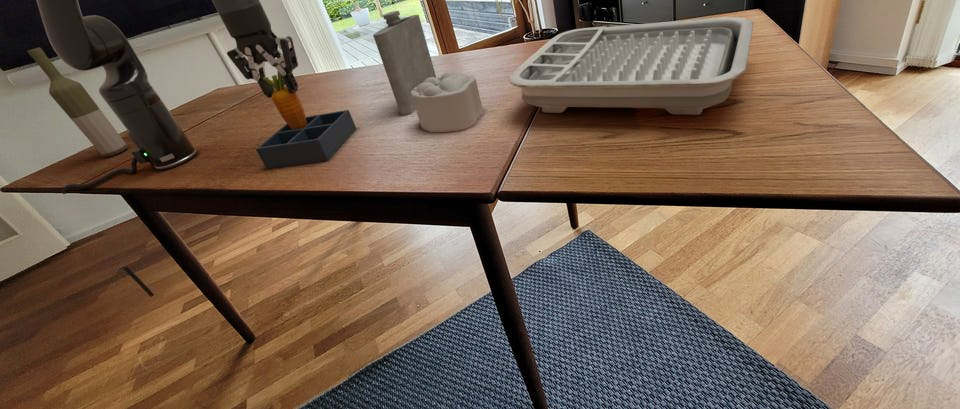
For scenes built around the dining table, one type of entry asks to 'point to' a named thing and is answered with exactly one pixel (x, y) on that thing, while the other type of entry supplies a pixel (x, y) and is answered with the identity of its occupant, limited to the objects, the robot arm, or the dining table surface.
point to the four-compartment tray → (307, 140)
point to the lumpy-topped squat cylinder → (447, 102)
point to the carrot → (287, 103)
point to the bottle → (80, 108)
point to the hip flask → (404, 57)
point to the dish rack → (638, 66)
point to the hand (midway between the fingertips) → (282, 93)
